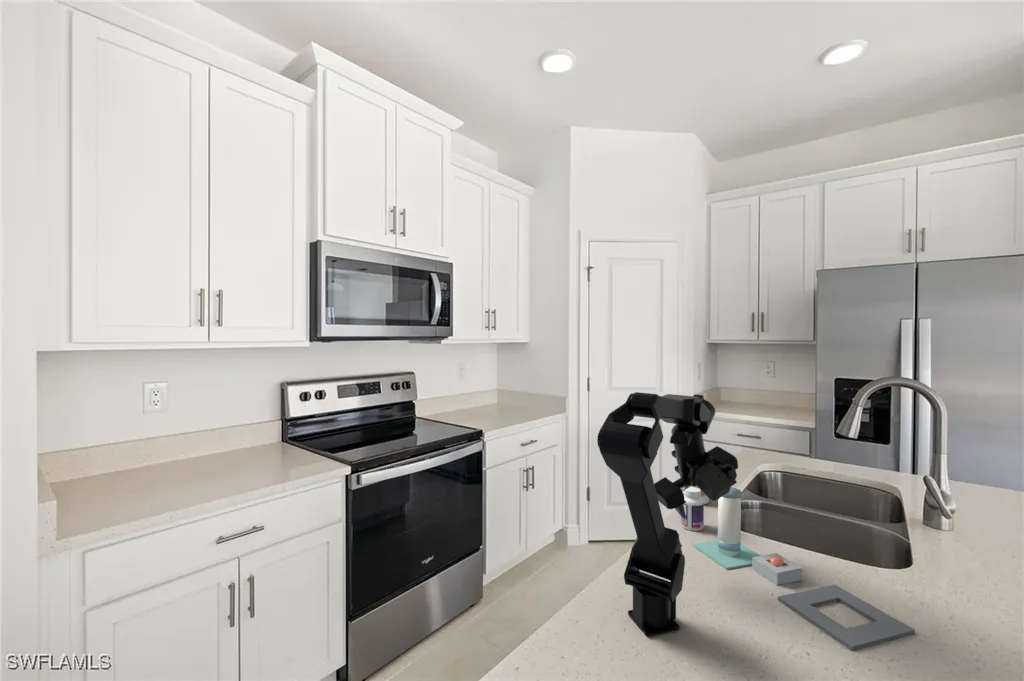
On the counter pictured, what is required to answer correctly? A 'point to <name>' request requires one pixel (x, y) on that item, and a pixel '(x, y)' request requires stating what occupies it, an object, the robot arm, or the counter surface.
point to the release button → (776, 561)
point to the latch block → (777, 569)
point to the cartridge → (729, 523)
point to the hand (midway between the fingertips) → (699, 506)
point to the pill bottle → (693, 510)
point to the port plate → (849, 637)
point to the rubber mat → (725, 561)
